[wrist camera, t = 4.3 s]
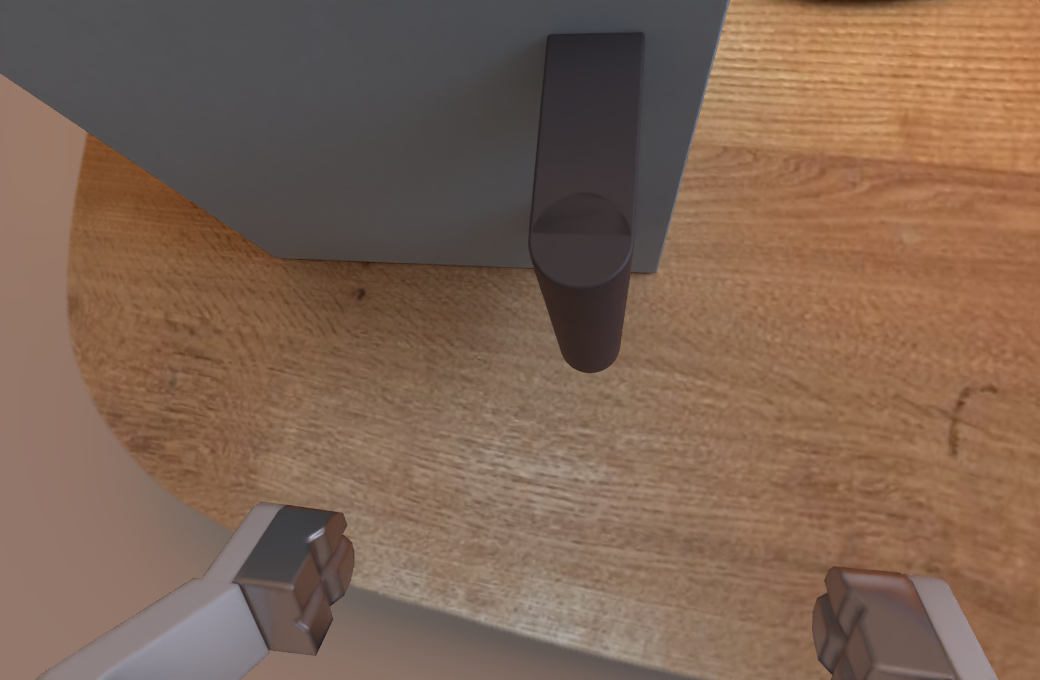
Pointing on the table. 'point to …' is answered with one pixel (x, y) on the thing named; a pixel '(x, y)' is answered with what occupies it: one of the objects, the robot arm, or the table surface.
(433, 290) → the table surface
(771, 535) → the table surface
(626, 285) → the cabinet door
